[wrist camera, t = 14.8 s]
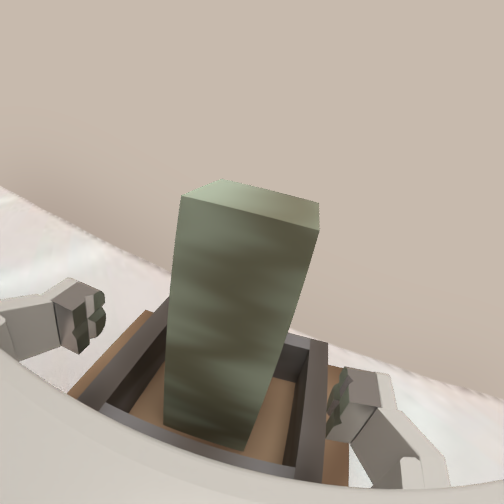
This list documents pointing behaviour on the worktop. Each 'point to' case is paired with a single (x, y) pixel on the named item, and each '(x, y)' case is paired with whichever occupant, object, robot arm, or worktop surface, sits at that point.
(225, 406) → the green peg
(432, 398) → the worktop surface
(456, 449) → the worktop surface
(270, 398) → the display stand
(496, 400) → the worktop surface
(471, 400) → the worktop surface
